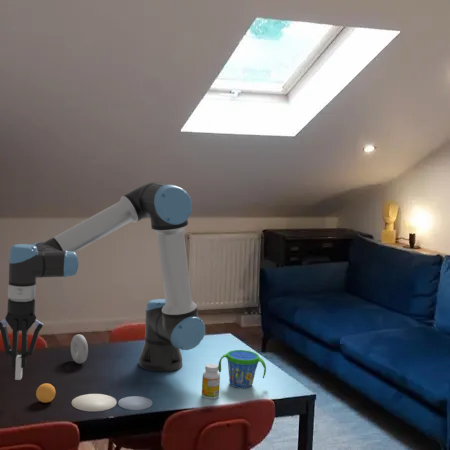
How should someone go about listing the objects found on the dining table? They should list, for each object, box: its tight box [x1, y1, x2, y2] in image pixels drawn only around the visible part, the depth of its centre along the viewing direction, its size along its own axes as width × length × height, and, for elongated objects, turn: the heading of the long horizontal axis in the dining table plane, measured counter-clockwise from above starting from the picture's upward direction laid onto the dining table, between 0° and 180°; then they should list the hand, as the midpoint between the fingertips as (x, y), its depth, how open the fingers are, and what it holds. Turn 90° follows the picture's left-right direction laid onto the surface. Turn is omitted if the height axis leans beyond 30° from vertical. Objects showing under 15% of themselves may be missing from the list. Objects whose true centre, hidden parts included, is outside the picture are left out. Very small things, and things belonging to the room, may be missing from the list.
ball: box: [35, 382, 57, 403], centre depth 201 cm, size 6×6×6 cm
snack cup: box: [217, 349, 267, 389], centre depth 224 cm, size 16×10×10 cm
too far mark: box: [117, 395, 153, 411], centre depth 204 cm, size 10×10×1 cm
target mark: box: [71, 393, 118, 412], centre depth 203 cm, size 13×13×1 cm
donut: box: [70, 333, 89, 365], centre depth 236 cm, size 10×4×10 cm, turn 34°
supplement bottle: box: [201, 363, 221, 400], centre depth 213 cm, size 5×5×10 cm
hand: (18, 378), depth 199 cm, fingers closed
